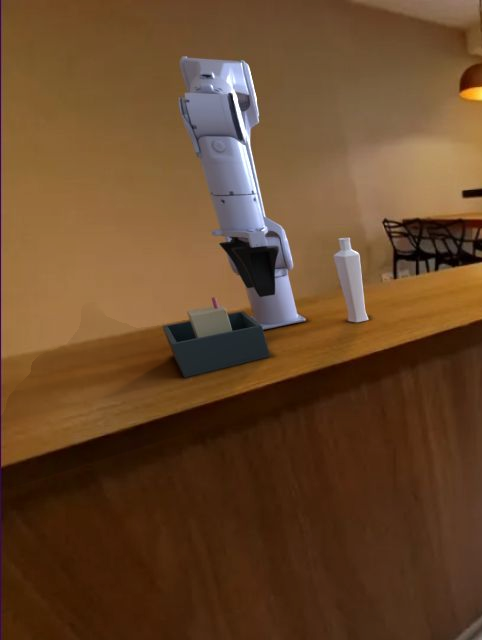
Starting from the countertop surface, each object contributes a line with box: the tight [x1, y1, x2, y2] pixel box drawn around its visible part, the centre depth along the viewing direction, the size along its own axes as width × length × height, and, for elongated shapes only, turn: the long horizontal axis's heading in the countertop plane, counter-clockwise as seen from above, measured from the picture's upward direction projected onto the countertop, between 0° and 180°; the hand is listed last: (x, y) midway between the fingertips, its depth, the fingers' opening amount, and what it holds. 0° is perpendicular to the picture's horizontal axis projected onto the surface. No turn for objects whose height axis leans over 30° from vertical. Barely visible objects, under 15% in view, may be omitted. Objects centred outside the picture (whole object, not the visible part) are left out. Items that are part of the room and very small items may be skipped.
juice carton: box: [186, 296, 232, 338], centre depth 66 cm, size 4×4×9 cm
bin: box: [162, 310, 271, 379], centre depth 67 cm, size 11×11×5 cm
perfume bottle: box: [333, 237, 370, 324], centre depth 81 cm, size 5×4×15 cm
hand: (260, 291), depth 67 cm, fingers open, 7 cm apart
